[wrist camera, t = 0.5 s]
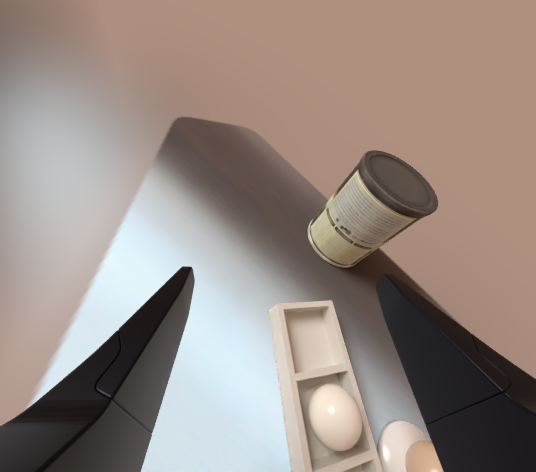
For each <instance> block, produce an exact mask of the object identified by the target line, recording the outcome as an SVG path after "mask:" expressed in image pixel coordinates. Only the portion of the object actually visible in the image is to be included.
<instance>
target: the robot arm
mask: <svg viewBox="0 0 536 472" xmlns="http://www.w3.org/2000/svg"><path fill="white" fill-rule="evenodd" d="M194 281H195V280H194V274H193V269H192V267H181V268H180V269H179V270H178V271H177V272H176V273H175V274H174V275H173V276H172V277H171V278H170V279H169V280H168V281H167V282H166V283H165V284H164V285H163V286H162V287H161V288H160V289H159V290H158V291H157V292H156V293H155V294H154V295H153V296H152V297H151V298H150V299H149V300H148V301H147V302H146V303H145V304H144V305H143V306H142V307H141V308H140V309H139V310H138V311H137V312H136V313H135V314H134V315H133V316H132V317H130V318H129V319H128V320H127V321H126V322H125V323H124V324H123V325H122V326H121V327H120V328H119V331H116V332H115V333H114V334H113V335H112V336H111V337H110V338H109V339H108V340H107V341H106V342H105V343H104V344H103V345H102V346H101V347H99V348H98V349H97V350H96V351H95V352H94V353H93V354H92V355H91V356H90V357H88V358H87V359H86V360H85V361H84V362H83V363H82V364H80V365H79V366H78V367H77V368H76V369H75V370H73V371H72V372H71V373H70V374H69V375H67V376H66V377H65V378H64V379H63V380H62V381H60V382H59V383H58V384H57V385H56V386H54V387H53V388H52V389H51V390H50V391H49V392H47V393H46V394H45V395H44V396H43V397H41V398H40V399H39V400H38V401H37V402H35V403H34V404H33V405H32V406H30V407H29V408H28V409H26V410H25V411H24V412H22V413H21V414H19V415H18V416H16V417H15V418H13V419H12V420H10V421H8V422H7V423H5V424H3V425H2V426H0V472H141V468H142V465H143V462H144V459H145V455H146V452H147V449H148V446H149V442H150V439H151V436H152V434H151V433H152V432H153V429H154V426H155V423H156V419H157V416H158V413H159V410H160V406H161V403H162V400H163V397H164V393H165V390H166V387H167V384H168V380H169V377H170V374H171V371H172V367H173V364H174V361H175V358H176V354H177V351H178V348H179V345H180V341H181V338H182V335H183V332H184V328H185V325H186V322H187V319H188V315H189V310H190V304H191V299H192V293H193V288H194ZM376 291H377V294H378V298H379V302H380V305H381V309H382V313H383V316H384V319H385V322H386V325H387V327H388V330H389V332H390V335H391V337H392V340H393V343H394V345H395V348H396V350H397V353H398V355H399V358H400V361H401V363H402V366H403V368H404V371H405V373H406V376H407V379H408V381H409V384H410V386H411V389H412V391H413V394H414V397H415V399H416V402H417V404H418V407H419V410H420V412H421V415H422V417H423V420H424V422H425V424H426V428H427V430H428V433H429V436H430V438H431V441H432V443H433V446H434V448H435V451H436V454H437V456H438V459H439V461H440V464H441V466H442V469H443V472H536V379H535V378H533V377H532V376H530V375H529V374H527V373H526V372H524V371H523V370H522V369H520V368H518V367H517V366H516V365H514V364H513V363H511V362H510V361H508V360H507V359H506V358H504V357H503V356H501V355H500V354H498V353H497V352H496V351H494V350H493V349H492V348H490V347H489V346H487V345H486V344H485V343H483V342H482V341H481V340H479V339H478V338H477V337H475V336H474V335H473V334H471V333H470V332H469V331H467V330H466V329H465V328H464V327H462V326H461V325H460V324H458V323H457V322H456V321H454V320H453V319H452V318H450V317H449V316H448V315H446V314H445V313H444V312H442V311H441V310H440V309H438V308H437V307H436V306H434V305H433V304H432V303H430V302H429V301H428V300H426V299H425V298H424V297H423V296H421V295H420V294H419V293H417V292H416V291H415V290H413V289H412V288H411V287H409V286H408V285H407V284H405V283H404V282H403V281H401V280H400V279H399V278H397V277H396V276H395V275H393V274H383V275H382V276H381V278H380V279H379V281H378V282H377V284H376Z"/></svg>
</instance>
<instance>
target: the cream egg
mask: <svg viewBox="0 0 536 472" xmlns="http://www.w3.org/2000/svg"><path fill="white" fill-rule="evenodd" d="M308 413H309V420H310V424H311V427H312V429H313V431H314V433H315V435H316V436H317V438H318V439H319V440H320V441H321V442H322V443H323V444H324V445H325V446H327V447H328V448H330V449H332V450H336V451H345V450H348V449H350V448H352V447H353V446H354V445H355V444H356V443H357V442H358V440H359V438H360V435H361V432H362V415H361V411H360V408H359V406H358V404H357V402H356V400H355V399H354V397H353V396H352V395H351V394H350V393H349V392H348V391H347V390H346V389H344V388H343V387H341V386H338V385H335V384H325V385H322V386H320V387H319V388H317V389H316V391H315V392H314V393H313V394H312V396H311V399H310V402H309V409H308Z"/></svg>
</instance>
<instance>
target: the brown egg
mask: <svg viewBox="0 0 536 472" xmlns="http://www.w3.org/2000/svg"><path fill="white" fill-rule="evenodd" d="M405 465H406V471H407V472H443V469H442V466H441V464H440V461H439V459H438V456H437V454H436V451H435V448H434V446H433V443H432V442H430V441H417V442H414V443H413V444H412V445H410V447H409V448H408V450H407V453H406V457H405Z"/></svg>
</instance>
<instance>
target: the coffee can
mask: <svg viewBox="0 0 536 472" xmlns="http://www.w3.org/2000/svg"><path fill="white" fill-rule="evenodd" d="M437 207H438V200H437V196H436V194H435V192H434V190H433V189H432V187H431V186H430V184H429V183H428V182H427V181H426V180H425V178H423V176H422V175H421V174H420V173H419V172H417V171H416V170H415V169H414V168H413V167H411V166H410V165H409V164H407V163H406V162H404V161H403V160H401V159H399V158H397V157H395V156H393V155H391V154H388V153H385V152H382V151H368V152H367V153H365V154H364V155H363V157H362V158H361V160H360V162H359V163H358V165H357V166H356V167H355V168H354V170H353V171H352V172H351V173H350V174H349V176H348V177H347V178H346V179H345V181H344V182H343V183H342V184H341V186H340V187H339V188H338V189H337V191H336V192H335V193H334V194H333V196H332V197H331V198H330V199H329V201H328V202H327V203H326V204H325V205H324V207H323V208H322V209H321V210H320V212H319V213H318V214H317V215H316V217H315V218H314V219H313V220H312V221H311V222H310V224H309V226H308V238H309V241H310V243H311V245H312V247H313V249H314V250H315V252H316V253H317V254H318V255H319V256H320V257H321V258H322V259H324V260H325V261H327V262H328V263H330V264H332V265H335V266H338V267H344V268H346V267H351V266H354V265H355V264H356V263H358V262H359V261H360V260H362V259H363V258H365V257H366V256H367V255H369V254H370V253H372V252H373V251H375V250H376V249H378V248H379V247H381V246H382V245H384V244H385V243H387V242H388V241H389V240H391V239H392V238H394V237H395V236H397V235H398V234H400V233H401V232H403V231H404V230H405V229H407V228H408V227H410V226H411V225H413V224H414V223H416V222H417V221H419V220H420V219H421V218H423V217H425V216H427V215H430V214H431V213H433V212H434V211H435V210H436V209H437Z"/></svg>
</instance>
